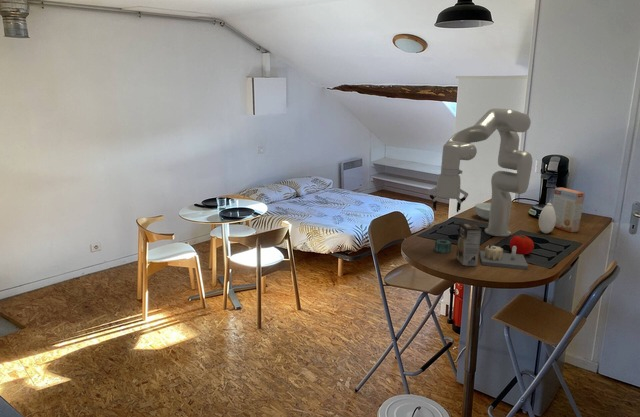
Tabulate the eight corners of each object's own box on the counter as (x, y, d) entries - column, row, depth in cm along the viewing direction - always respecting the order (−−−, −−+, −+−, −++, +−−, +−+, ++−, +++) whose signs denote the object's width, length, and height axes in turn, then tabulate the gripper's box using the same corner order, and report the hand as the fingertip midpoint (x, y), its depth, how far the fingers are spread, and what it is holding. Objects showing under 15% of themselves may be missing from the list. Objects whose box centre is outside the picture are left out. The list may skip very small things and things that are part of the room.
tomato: (512, 248, 229) (514, 230, 227) (535, 253, 223) (538, 235, 221) (505, 253, 222) (507, 235, 220) (529, 259, 216) (531, 240, 214)
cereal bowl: (473, 221, 273) (474, 208, 271) (473, 213, 288) (474, 201, 286) (506, 224, 268) (507, 211, 266) (504, 216, 283) (506, 204, 281)
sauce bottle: (537, 234, 251) (542, 199, 247) (536, 229, 259) (541, 196, 254) (554, 235, 249) (560, 201, 245) (552, 231, 256) (557, 197, 252)
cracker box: (579, 232, 257) (585, 192, 251) (570, 233, 254) (576, 193, 249) (557, 224, 269) (563, 186, 264) (549, 225, 267) (554, 187, 262)
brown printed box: (455, 258, 215) (458, 222, 211) (470, 258, 216) (473, 222, 212) (462, 265, 207) (466, 228, 202) (477, 265, 207) (481, 228, 203)
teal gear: (434, 247, 229) (435, 238, 228) (450, 248, 227) (451, 240, 226) (434, 252, 222) (435, 243, 221) (450, 253, 221) (451, 245, 220)
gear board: (479, 253, 221) (481, 238, 219) (522, 257, 217) (524, 242, 215) (481, 264, 208) (483, 248, 206) (527, 269, 204) (529, 252, 202)
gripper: (470, 172, 217) (466, 210, 222) (429, 169, 221) (426, 207, 225) (471, 175, 210) (466, 214, 214) (429, 172, 214) (425, 211, 218)
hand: (446, 210), depth 220 cm, fingers open, 9 cm apart
